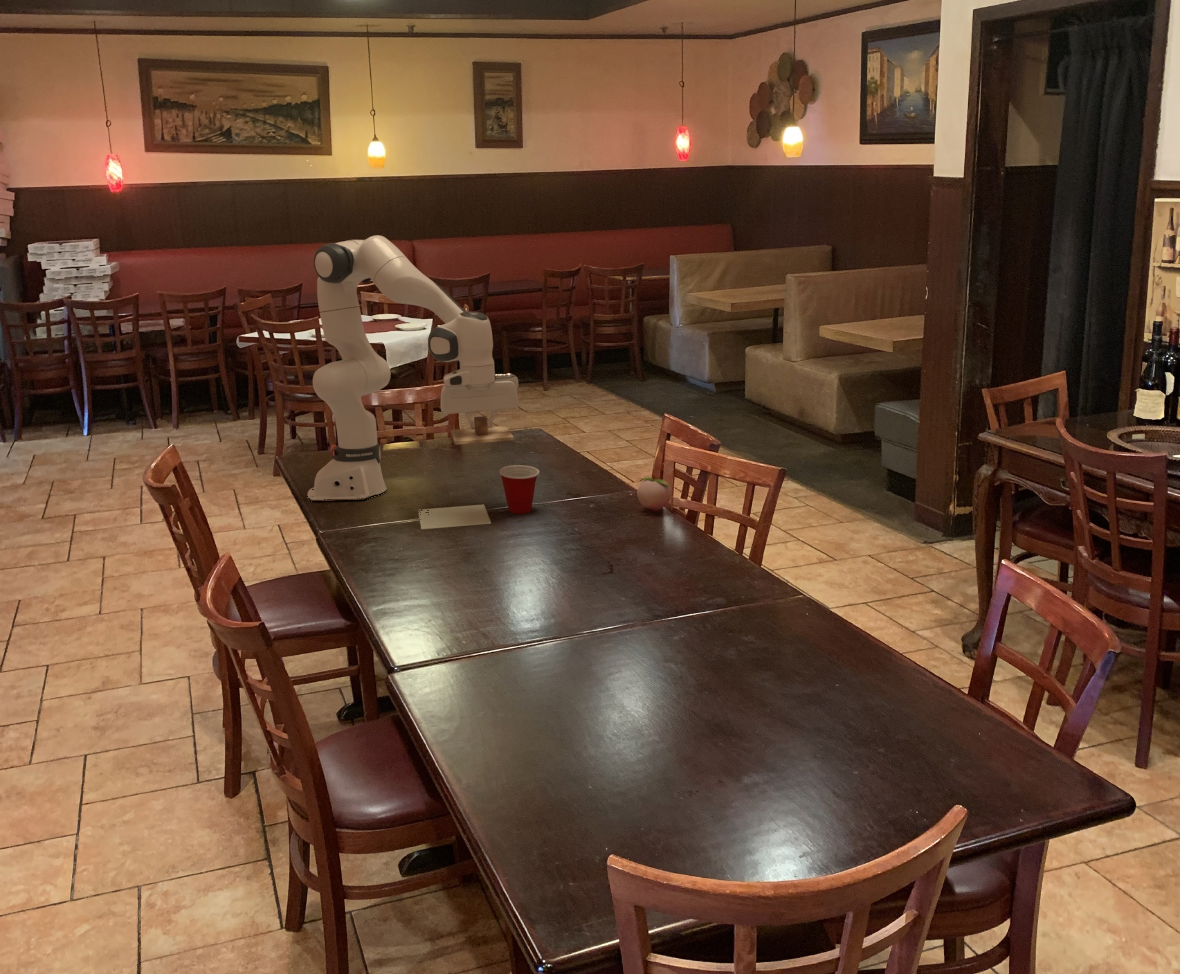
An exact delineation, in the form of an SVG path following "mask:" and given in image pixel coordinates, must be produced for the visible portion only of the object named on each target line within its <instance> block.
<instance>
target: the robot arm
mask: <svg viewBox="0 0 1180 974" xmlns="http://www.w3.org/2000/svg"><path fill="white" fill-rule="evenodd" d="M313 268H314V271H315V274H316V275H317V276H318V278H317V281H316V292H317V293H316V294H317V295H316V296H317V303H318V309H319V310H318V311H319V316H320V321H321V327H322V333H323V336H324V339H325V341H326V343H328V344H330V345H331V346H333V347H334V348H335V349H336V350H337V351H338V354H339V355H340V357H341V360H338V361H332V362H329V363H327V364H324V365H322V366H321V367H319V368H318V369H317V370H315V371H314V373H313V377H312V387H313V390H314V393H315V394H316V395H317V397H318V398H320V400H322V401H324V402H325V403H326V404H327V406H328V407H329V408H330V410H331V413H332V415H333V417H334V421H335V426H336V433H337V434H336V435H337V443H338V444H337V445H336V444H332V445H331V446H330V452H331V458H332V459H331V460H330V461H329V462H327V463H326V465H324V466H323V467H322V468H321V469H319V471H317V473H316V475H315V477H314V486H313V487H311V488H310V489H309V490H308V491H307V495H306V496H308V497H307V499H308V498H310V499H311V500H324V499H326V500H327V499H357V498H358V499H359V498H360V499H361V498H366V497H368V496H372V495H375V494H379V493H381V492H384V491H385V490H386V489H387V490H388V488H387V485H386V482H385V481H384V477H383V473H382V472H383V471H382V468H381V457H382V456H381V447H380V443H379V442H378V433H377V432H378V431H377V421H376V416H375V415H374V414H373V413H372V412H370V411H368V410H366V408H365V407H364V405H363V402H362V396H367V395H370V394H374V393H376V392H379V391H381V390H382V389H383V388H385V387H386V386H388V384H389V383H390V379H391V378H392V377H391V375H392V374H391V368H390V365H389V363H388V362H387V360H385V359H384V357H382V356H380V355H379V354H378V353H377V352H376V351H375V349H374V348H373V346H372V345H371V343H370V341H369V339H368V337H367V335H366V331H365V327H364V322H363V317H362V312H361V308H360V302H359V298H358V291H357V289H358V286H359V284H360V283H361V282H362V283H363V284H368V283H369V282H371V281H372V282H373V284H374V285H375V286H376V288H377V289H378V290H379V291H380V293H381V294H382V295H384V296H385V297H386V298H387V299H389V300H390V301H392V302H393V303H397V304H401V305H402V304H403V305H413V306H418V307H420V308H425V309H427V310H429V311H431V312H433V313H434V314H435V315H436V316H438V318H439V319H440V320H442V322H443V323H444V324H441V325H438V326H436V327H434V328H432V329H431V330H430V332H429V334H428V337H427V348H428V350H429V353H430V355H431V356H432V357H433V359H435V360H436V361H437V362H442V363H451V362H454V361H458V362H459V369H457V370H454V371H452V372H449V373H447V374H445V375H444V376H443V383H444V385H443V386H442V388H441V393H440V410H441V413H442V414H444V415H450V414H451V415H452V414H464V417H465V419H466V420H467V422H468V423H469V429H476V426H475V421H474V420H473V421H472V419H471V418H470V417H471V413H477V412H478V413H480V412H489V413H490V418H489V419H487V424H488V428H493V427H494V424H493V423H494V420H495V418H496V416H497V411H505V410H507V411H508V410H517V408H518V407H519V406H520V401H519V396H518V390H517V389H518V388H519V378H518V376H517V375H515V374H513V373H509V372H508V373H496V371H495V360H494V358H493V349H494V348H493V347H494V340H493V332H492V326H491V321H490V319H489V317H488V315H486V314H485V313H483V312H480V311H479V312H478V311H472V310H471V311H466V309H464V308H463V307H462V306H461V305H460V304H459V303H458V302H457V301H456V300H455V299H454V298H453V297H452V296H451V295H449V293H448V292H447V291H445V289H443V288H442V287H441V286H440V285H439V284H438V283H436V282H435V281H434V280H432V279H430V278H429V277H428V276H426V275H425V274H423V272H422V271H420V270H419V269H418V268H417V267H416V266H415V265H414V264H413V263H412V262H411V261H410V259H408V257H407V256H406V255H405V254H404V253H403V252H402V251H401V250H400V249H399V248H398V247H397V246H396V245H395V244H394V243H393V242H391V241H390V240H389V239H388V238H386V237H385V236H383V235H378V234H377V235H372V236H369V237H368V238H366V239H349V240H345V241H338V242H329V243H326V244H324V245H322V246H320V247H319V248H317V250H316V251H315V252H314V256H313ZM312 489H314V490H312Z"/></svg>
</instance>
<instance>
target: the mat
mask: <svg viewBox="0 0 1180 974" xmlns="http://www.w3.org/2000/svg"><path fill="white" fill-rule="evenodd" d="M421 509H422V508H421ZM422 510H423V511H420V512H421V513H420V512H419V511H418V512H419V513H418V518H419V523H420V529H421V530H428V529H429V530H430V529H431V530H432V529H443V528H444V529H445V528H454V527H464V526H465V527H467V526H478V525H489V524H492V521H491V519H490V516H489V514H488V511H487V509H486V506H485V504H475V505H474V504H472V505H460V506H448V507H435V508H424V509H422ZM427 510H429V511H427ZM425 512H429V513H425ZM420 514H421V515H420ZM428 514H429V515H428ZM420 519H422V520H420Z"/></svg>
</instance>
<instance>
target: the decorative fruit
mask: <svg viewBox="0 0 1180 974" xmlns="http://www.w3.org/2000/svg"><path fill="white" fill-rule="evenodd" d="M639 482H641V483H640V484H639V485H638V487H637V490H636V494H637V498H638V501H639V503H640V505H641V506H643V507H644V508H646V509H648V510H650V511H652V510H653V511H652V512H656V511H659V510H661V509H663V508H664V507H666V506H667V505H668V503H669V502H670V500H671V498H672V495H673V494H672V493H673V492H672V488H671V485H670V484H669V483H668V482H667V481H666V480H664V479H658V478H657V479H655V475H654V474H653V477H649V476H648V477H641V478H640V479H639Z"/></svg>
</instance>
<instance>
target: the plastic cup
mask: <svg viewBox="0 0 1180 974" xmlns="http://www.w3.org/2000/svg"><path fill="white" fill-rule="evenodd" d="M498 474H500V478H501V482H502V485H503V490H504V495H505V500H506V502H507V507H508V511H509V513H510V514H513V515H525V514H528V513H531V511H532V508H533V501H534V495H535V488H536V482H537V479H538V476H539V474H540V470H539V468H536V467H534V466H530V465H522V464H521V465H520V464H517V465H516V464H514V465H507V466H503V467H501V468H499V471H498Z"/></svg>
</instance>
